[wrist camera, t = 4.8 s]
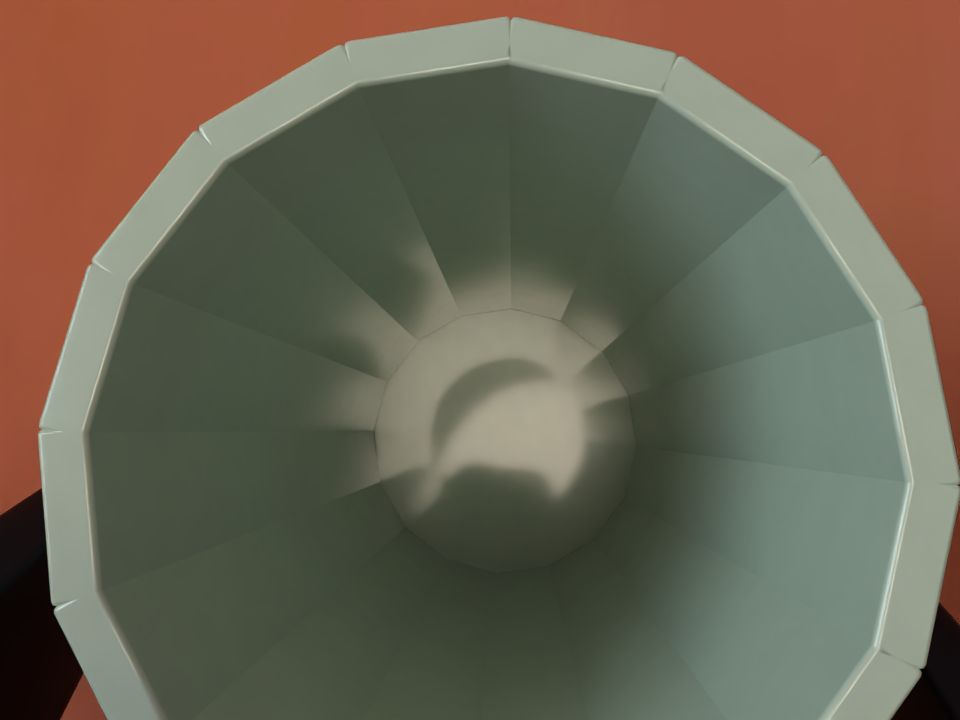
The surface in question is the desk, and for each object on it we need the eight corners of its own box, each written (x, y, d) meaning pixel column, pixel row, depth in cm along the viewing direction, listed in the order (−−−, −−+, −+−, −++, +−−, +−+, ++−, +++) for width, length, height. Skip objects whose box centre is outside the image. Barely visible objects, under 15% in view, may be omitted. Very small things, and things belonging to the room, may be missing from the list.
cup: (453, 636, 18) (310, 1133, 5) (314, 388, 18) (-107, 300, 6) (701, 489, 18) (1149, 632, 5) (553, 248, 18) (637, -135, 6)
